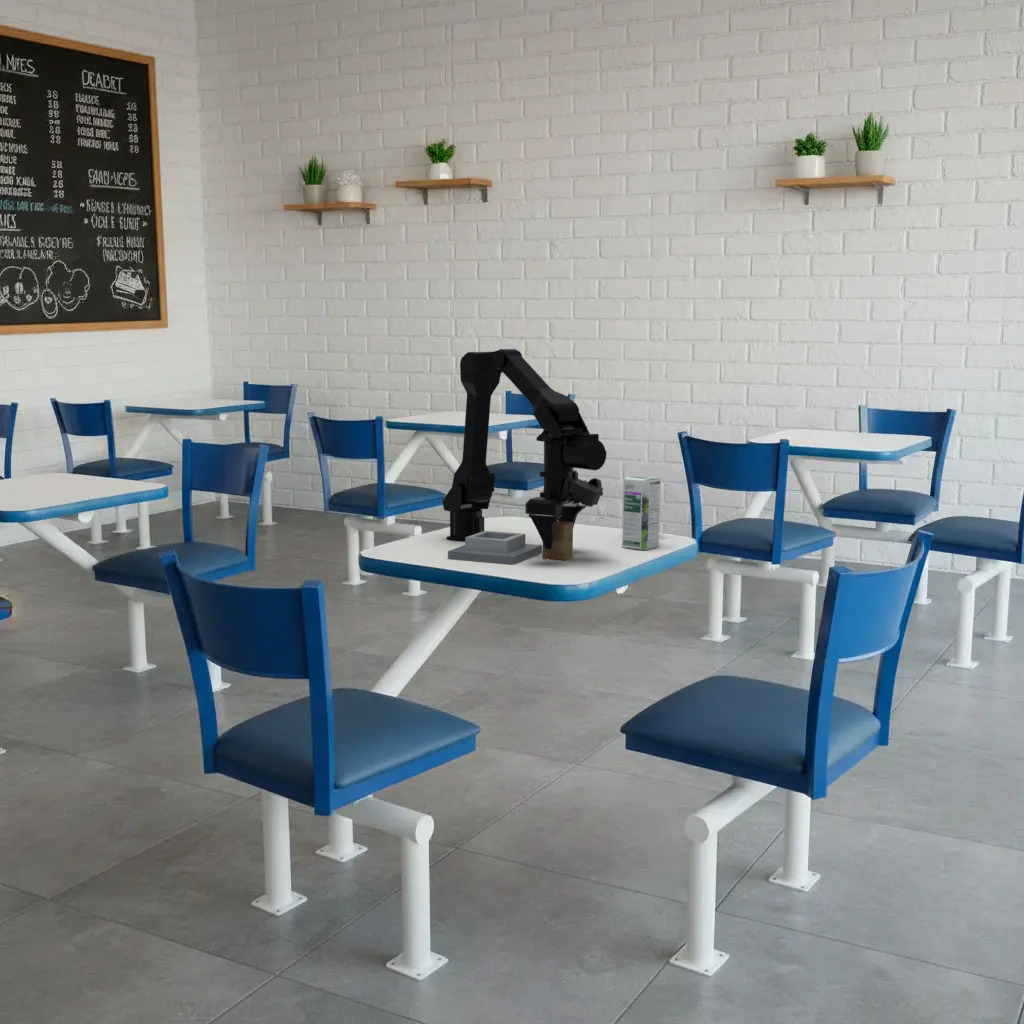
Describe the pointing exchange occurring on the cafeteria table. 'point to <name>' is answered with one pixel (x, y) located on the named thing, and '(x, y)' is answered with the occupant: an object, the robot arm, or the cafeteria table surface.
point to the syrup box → (641, 512)
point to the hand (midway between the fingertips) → (557, 545)
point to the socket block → (495, 548)
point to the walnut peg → (561, 542)
